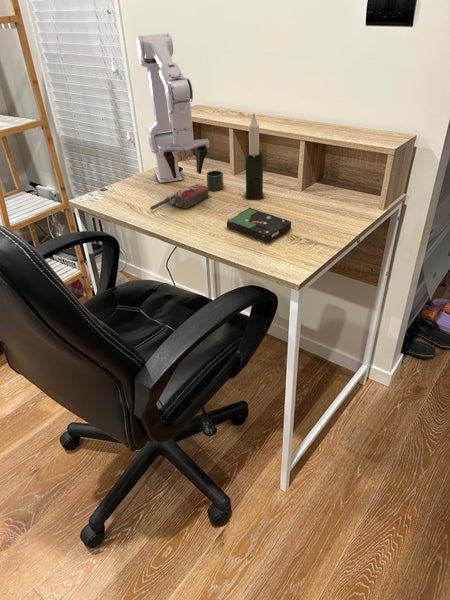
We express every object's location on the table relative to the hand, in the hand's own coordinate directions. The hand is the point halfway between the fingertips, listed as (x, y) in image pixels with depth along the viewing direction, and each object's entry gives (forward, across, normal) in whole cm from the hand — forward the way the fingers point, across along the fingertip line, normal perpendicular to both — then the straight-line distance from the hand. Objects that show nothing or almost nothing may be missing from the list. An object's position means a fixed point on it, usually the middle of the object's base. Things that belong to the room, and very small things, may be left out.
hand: (186, 175), depth 134 cm
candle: (+10, +21, -2) cm, 23 cm away
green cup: (+10, +12, +10) cm, 18 cm away
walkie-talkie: (+10, -2, +3) cm, 11 cm away
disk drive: (+10, +13, -23) cm, 28 cm away
